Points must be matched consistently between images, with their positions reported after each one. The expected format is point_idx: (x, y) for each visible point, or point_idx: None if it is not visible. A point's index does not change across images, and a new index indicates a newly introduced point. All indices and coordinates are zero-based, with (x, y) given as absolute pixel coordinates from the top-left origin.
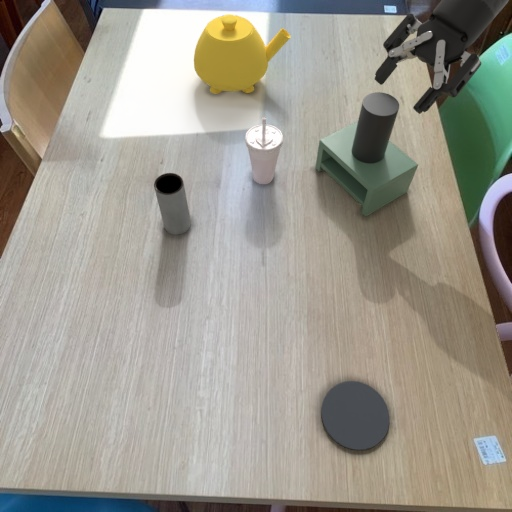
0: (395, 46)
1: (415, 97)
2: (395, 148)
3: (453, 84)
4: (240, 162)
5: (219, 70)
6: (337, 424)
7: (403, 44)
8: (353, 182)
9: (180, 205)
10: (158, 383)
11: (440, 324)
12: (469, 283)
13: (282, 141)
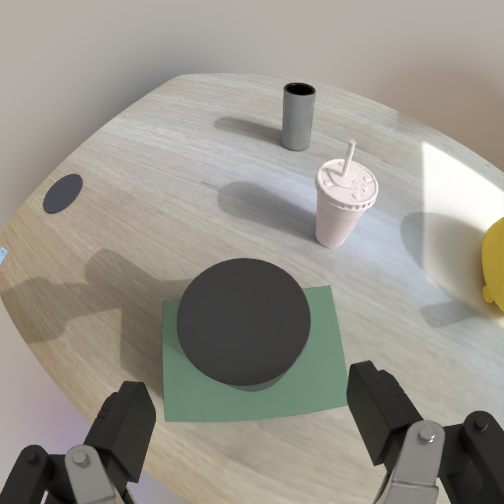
0: (456, 476)
1: None
2: (229, 415)
3: (24, 470)
4: (365, 223)
5: (499, 226)
6: (67, 180)
7: (430, 488)
8: None
9: (284, 108)
10: (169, 111)
11: (44, 294)
12: (47, 358)
13: (331, 200)
